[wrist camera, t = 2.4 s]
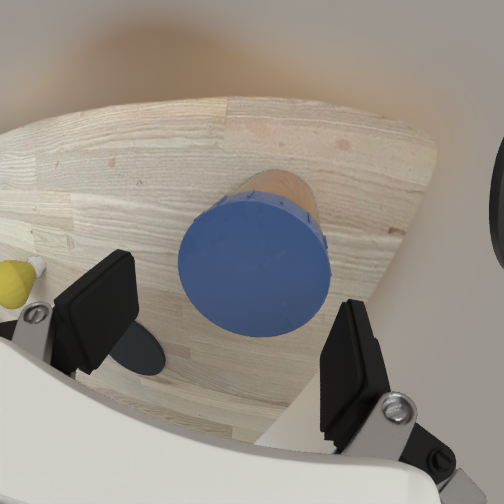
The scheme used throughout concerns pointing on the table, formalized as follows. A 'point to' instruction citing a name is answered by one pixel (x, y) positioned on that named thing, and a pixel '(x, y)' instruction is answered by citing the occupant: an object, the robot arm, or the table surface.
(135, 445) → the robot arm
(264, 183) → the jar
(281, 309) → the lid
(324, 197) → the table surface
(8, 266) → the light bulb
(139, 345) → the coaster
